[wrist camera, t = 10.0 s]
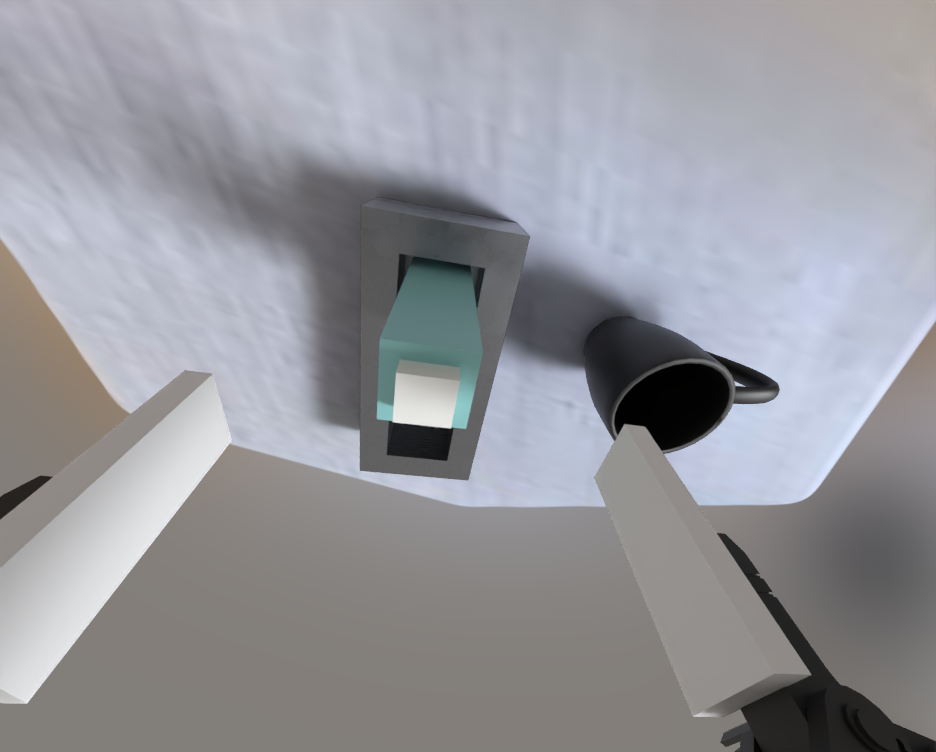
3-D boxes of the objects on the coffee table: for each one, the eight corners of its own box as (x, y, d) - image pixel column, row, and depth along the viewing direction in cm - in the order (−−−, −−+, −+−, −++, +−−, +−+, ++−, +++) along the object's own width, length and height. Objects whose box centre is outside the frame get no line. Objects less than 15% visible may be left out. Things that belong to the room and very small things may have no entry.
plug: (415, 251, 25) (374, 351, 12) (469, 261, 25) (485, 365, 13) (410, 304, 27) (371, 434, 14) (461, 311, 27) (466, 444, 15)
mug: (687, 378, 33) (762, 450, 25) (563, 385, 33) (598, 458, 25) (718, 296, 28) (821, 351, 20) (574, 303, 28) (622, 361, 20)
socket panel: (377, 196, 24) (360, 205, 19) (517, 222, 25) (530, 236, 21) (371, 433, 35) (359, 470, 31) (466, 443, 36) (468, 480, 32)
